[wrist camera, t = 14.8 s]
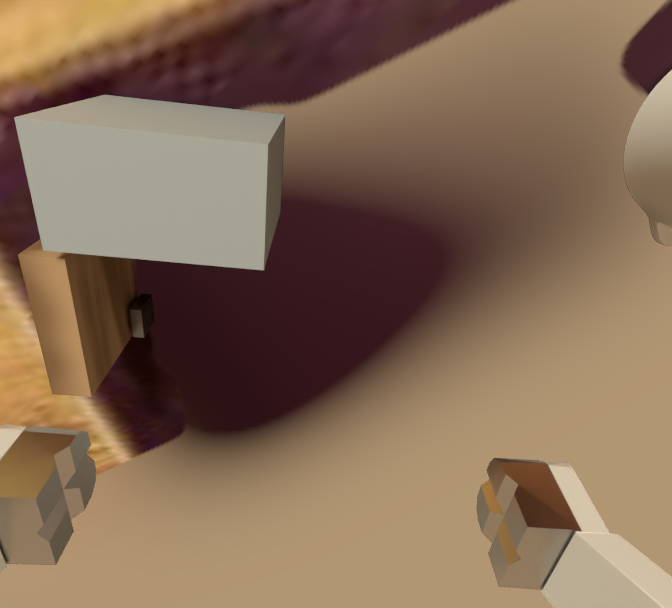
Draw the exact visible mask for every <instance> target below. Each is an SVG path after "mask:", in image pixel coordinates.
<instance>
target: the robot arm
mask: <svg viewBox="0 0 672 608" xmlns="http://www.w3.org/2000/svg"><path fill="white" fill-rule="evenodd" d="M623 168H624V176H625V181H626V184H627V187H628V189H629V191H630V193H631V195H632V197H633V198H634V200H635V201H636V202H637V203H638V204H639V205H640V207H641V208H642V209H643V210H644V211H645V212H646V214H647V215H648V217H649V223H650V228H651V232H652V236H653V238H654V240H655V241H657V242H658V243H661V244H663V245H666V246H672V70H671V71H670V72H669V73H668V74H667V75H666V76H665V77H664V78H663V79H662V80H661V81H660V82H659V83H658V84H657V85H656V86H655V88H654V89H653V90H652V91H651V93H650V94H649V95H648V97H647V98H646V99H645V101H644V103H643V104H642V106H641V107H640V109H639V111H638V113H637V114H636V116H635V119H634V120H633V123H632V125H631V128H630V130H629V133H628V136H627V140H626V144H625V149H624V159H623ZM90 446H91V443H90V439H89V435H88V432H85V431H79V430H68V429H57V428H47V427H36V426H20V425H9V424H4V425H2V426H0V572H1V571H2V570H4V569H5V568H6V567H7V565H6V564H36V565H38V564H39V565H56V564H57V562H58V560H59V558H60V556H61V555H62V553H63V551H64V549H65V547H66V545H67V543H68V541H69V539H70V537H71V535H72V533H73V532H74V531H73V526H72V523H71V519H73V518H74V517H76V516H77V515H79V514H80V513H81V512H83V511H84V510H85V508H86V506H87V504H88V502H89V500H90V498H91V496H92V492H93V488H94V485H95V481H96V467H95V462H94V460H93V459H92V458H91V457H89V456H88V455H87V454H86V453H87V451H88V449H89V447H90ZM487 473H488V476H489V480H488V481H486V482H485V483H484V484H482V485H481V487H480V490H479V493H478V496H477V515H478V521H479V524H480V528H481V531H482V533H483V534H484V535H485V536H486V537H487V538H488V539H489V540H490V541H491V542H492V546H491V548H490V551H489V557H490V560H491V563H492V566H493V570H494V572H495V576H496V579H497V582H498V585H499V587H512V588H524V589H537V590H542V591H541V593H542V594H543V595H544V596H545V597H546V599H547V600H548V601H549V602H550V603H551V605H552V606H553V607H554V608H672V577H671V576H670V575H669V574H667V573H666V572H665V571H664V570H662V569H661V568H660V567H658V566H657V565H656V564H655V563H654V562H652V561H651V560H650V559H648V558H647V557H646V556H645V555H643V554H642V553H641V552H640V551H638V550H637V549H636V548H634V547H633V546H632V545H631V544H630V543H628V542H627V541H626V540H625V539H623V538H622V537H621V536H620V535H618V534H613V533H610V532H609V530H608V529H607V527H606V525H605V524H604V522H603V520H602V518H601V517H600V515H599V513H598V511H597V510H596V508H595V506H594V504H593V503H592V501H591V499H590V498H589V496H588V494H587V492H586V491H585V489H584V487H583V486H582V484H581V482H580V480H579V479H578V477H577V475H576V474H575V472H574V470H573V468H572V467H571V466H570V465H569V464H568V463H567V462H556V461H539V460H524V459H507V458H494V459H493V460H492V461H491V462H490V463H489V466H488V468H487Z"/></svg>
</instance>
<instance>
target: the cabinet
mask: <svg viewBox="0 0 672 608" xmlns="http://www.w3.org/2000/svg"><path fill="white" fill-rule="evenodd" d="M14 119H15V123H16V128H17V132H18V137H19V142H20V146H21V151H22V155H23V160H24V165H25V169H26V174H27V178H28V183H29V188H30V192H31V197H32V201H33V206H34V211H35V215H36V220H37V224H38V229H39V234H40V238H41V243H42V247H43V251H53V252H64V253H75V254H86V255H98V256H109V257H120V258H131V259H143V260H153V261H164V262H175V263H187V264H198V265H210V266H221V267H232V268H243V269H254V270H264V268H265V265H266V261H267V258H268V254H269V250H270V247H271V243H272V240H273V236H274V232H275V229H276V226H277V222H278V219H279V215H280V211H281V210H280V209H281V190H282V189H281V188H282V169H283V150H284V128H285V115H282V114H273V113H264V112H255V111H246V110H237V109H228V108H219V107H210V106H201V105H192V104H183V103H174V102H165V101H156V100H147V99H138V98H129V97H120V96H111V95H102V96H98V97H94V98H90V99H86V100H82V101H78V102H74V103H70V104H66V105H62V106H58V107H54V108H50V109H46V110H42V111H38V112H34V113H30V114H26V115H22V116H18V117H14Z"/></svg>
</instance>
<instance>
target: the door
mask: <svg viewBox="0 0 672 608" xmlns="http://www.w3.org/2000/svg"><path fill="white" fill-rule="evenodd" d="M18 256H19V260H20V264H21V269H22V273H23V277H24V281H25V285H26V289H27V293H28V297H29V301H30V305H31V309H32V313H33V317H34V321H35V325H36V329H37V333H38V337H39V341H40V346H41V350H42V354H43V358H44V362H45V366H46V370H47V374H48V378H49V382H50V386H51V390H52V394H58V395H72V396H86V397H92V395H93V394H94V392H95V391H96V389H97V388H98V386H99V385H100V383H101V382H102V380H103V379H104V377H105V376H106V374H107V373H108V371H109V370H110V368H111V367H112V365H113V364H114V362H115V361H116V359H117V358H118V356H119V355H120V353H121V352H122V350H123V349H124V347H125V346H126V344H127V343H128V341H129V340H130V338H131V337H132V335H133V332H132V324H131V316H130V308H131V307H132V305H133V304H134V303H135V301H136V300H137V291H136V282H135V274H134V265H133V260H130V259H123V258H120V257H109V256H98V255H86V254H75V253H64V252H53V251H43V247H42V243H41V239H40V240H39V241H37V242H36V243H34V244H33V245H31V246H30V247H28V248H27V249H25V250H24V251H23V252H21V253H20V254H18Z"/></svg>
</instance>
